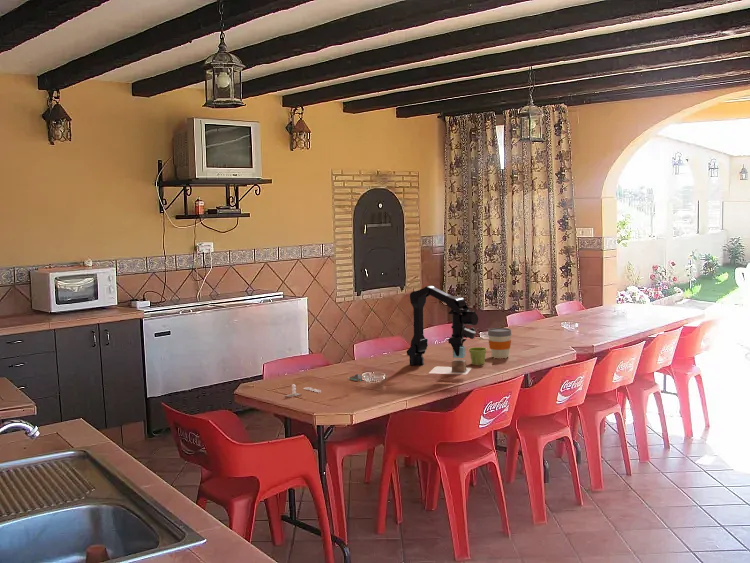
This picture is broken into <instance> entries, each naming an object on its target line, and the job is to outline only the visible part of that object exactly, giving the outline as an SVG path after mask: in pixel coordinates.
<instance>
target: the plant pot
mask: <svg viewBox="0 0 750 563" xmlns="http://www.w3.org/2000/svg"><path fill="white" fill-rule="evenodd" d="M467 350H468V352H469V354H470V361H471V364H472V365H475V366H482V365H485V360H486V353H487V351H488V348H487V347H482V346H481V347H480V346H479V347H478V346H477V347H469V348H468V349H467Z"/></svg>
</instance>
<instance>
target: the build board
mask: <svg viewBox="0 0 750 563" xmlns="http://www.w3.org/2000/svg"><path fill="white" fill-rule="evenodd" d="M472 369H473V367H470V366H469V367H467V366H466V371H465V372H452V366H438V365H437V366H434V368H432V369H431V370H429V372H428V374H439V375H440V374H441V375H443V374H444V375H464V376H465V375H468V374H469V373H470V371H471V370H472Z"/></svg>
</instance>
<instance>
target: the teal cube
mask: <svg viewBox="0 0 750 563" xmlns="http://www.w3.org/2000/svg"><path fill="white" fill-rule="evenodd" d="M465 351H466V346H465V345H463V346H460V352H459V356H456V354H455V351H454V349H453V348H452V358H453V359H455V358H456V359H464V358H465V356H466V355H465V354H466V352H465Z"/></svg>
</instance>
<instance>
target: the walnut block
mask: <svg viewBox="0 0 750 563" xmlns="http://www.w3.org/2000/svg"><path fill="white" fill-rule="evenodd" d="M451 367H452V372H465V371H466V367H467V360H466V359H453V360H452V361H451Z"/></svg>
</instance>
